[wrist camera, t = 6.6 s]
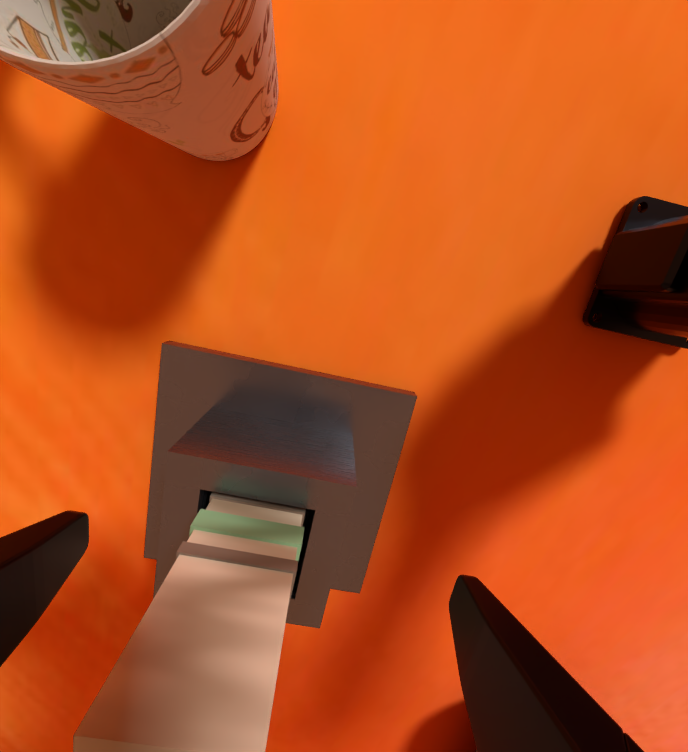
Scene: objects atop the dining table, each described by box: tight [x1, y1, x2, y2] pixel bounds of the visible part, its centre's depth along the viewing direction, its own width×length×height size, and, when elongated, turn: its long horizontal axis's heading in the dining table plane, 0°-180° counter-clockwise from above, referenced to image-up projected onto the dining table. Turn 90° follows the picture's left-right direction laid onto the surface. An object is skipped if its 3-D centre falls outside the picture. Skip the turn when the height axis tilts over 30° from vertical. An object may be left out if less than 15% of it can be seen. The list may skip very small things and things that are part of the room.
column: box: [73, 492, 306, 752], centre depth 12 cm, size 4×4×9 cm
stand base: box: [144, 341, 417, 628], centre depth 18 cm, size 14×14×7 cm
